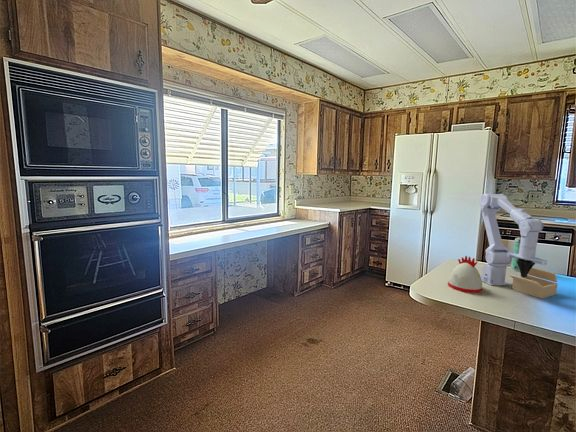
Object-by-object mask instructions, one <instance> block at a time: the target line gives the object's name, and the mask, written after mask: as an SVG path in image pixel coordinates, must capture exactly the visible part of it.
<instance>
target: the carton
mask: <svg viewBox="0 0 576 432" xmlns="http://www.w3.org/2000/svg"><path fill="white" fill-rule="evenodd" d="M522 278H525V279H529V280H532V281H536V282H538V283H539V284H540V285H541V286H542V287H539V286H536V285H533V284H529V283H526V282H522V281H519V280H516V279H513V278H512V286H511V290H514V291H517V292H520V293H523V294H526V295H529V296H533V297H536V298H539V299H541V300H542V299H545V298H546V299H547V298H549V297H551V296H555V295H557V291H558V285H559V284H558V282H553V281H549V280H546V279H542V278H538V277H535V276H531V275H529V274H528V275H527V277H522Z"/></svg>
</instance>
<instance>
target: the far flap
mask: <svg viewBox="0 0 576 432" xmlns="http://www.w3.org/2000/svg"><path fill="white" fill-rule="evenodd" d="M528 276H532V277H536V278H539V279H543V280H547V281H550V282H554V283H558V280H557V276H556V273H555V272H552V271H548V270H545V269H540V268H536V267H534V266H533V267H532V268H531V269H530V271H529V273H528Z"/></svg>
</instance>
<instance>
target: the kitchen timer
mask: <svg viewBox="0 0 576 432" xmlns="http://www.w3.org/2000/svg"><path fill="white" fill-rule="evenodd" d="M457 261H458V263H459V264H458V265H456V266H455V267H454V268H453V270H452V271H451V272H450V275H449V278H448V280H447V286H448V288H451V289H452V290H456V291H459V292H462V293H463V292H464V293H469V294H479V293H481V292H483V291H482V290H483V281H481V275H480V272H479V270H478V268H477V267H476V265H477V264H478V261H475V257H473V258H472V259H471V256H468V255H465V257H464V256H463V257H461V259H460V258H458V260H457Z"/></svg>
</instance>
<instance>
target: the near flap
mask: <svg viewBox="0 0 576 432" xmlns="http://www.w3.org/2000/svg"><path fill="white" fill-rule="evenodd" d="M508 276H510V277H511V278H512V280H513V279H516V280H519V281H522V282H526V283H529V284H533V285H536V286H539V287H542V286H541V285H540V284H539V283H538V282H536V281H532V280H529V279H525V278H522V277H521V276H518V275H514V274H511V273H508Z"/></svg>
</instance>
